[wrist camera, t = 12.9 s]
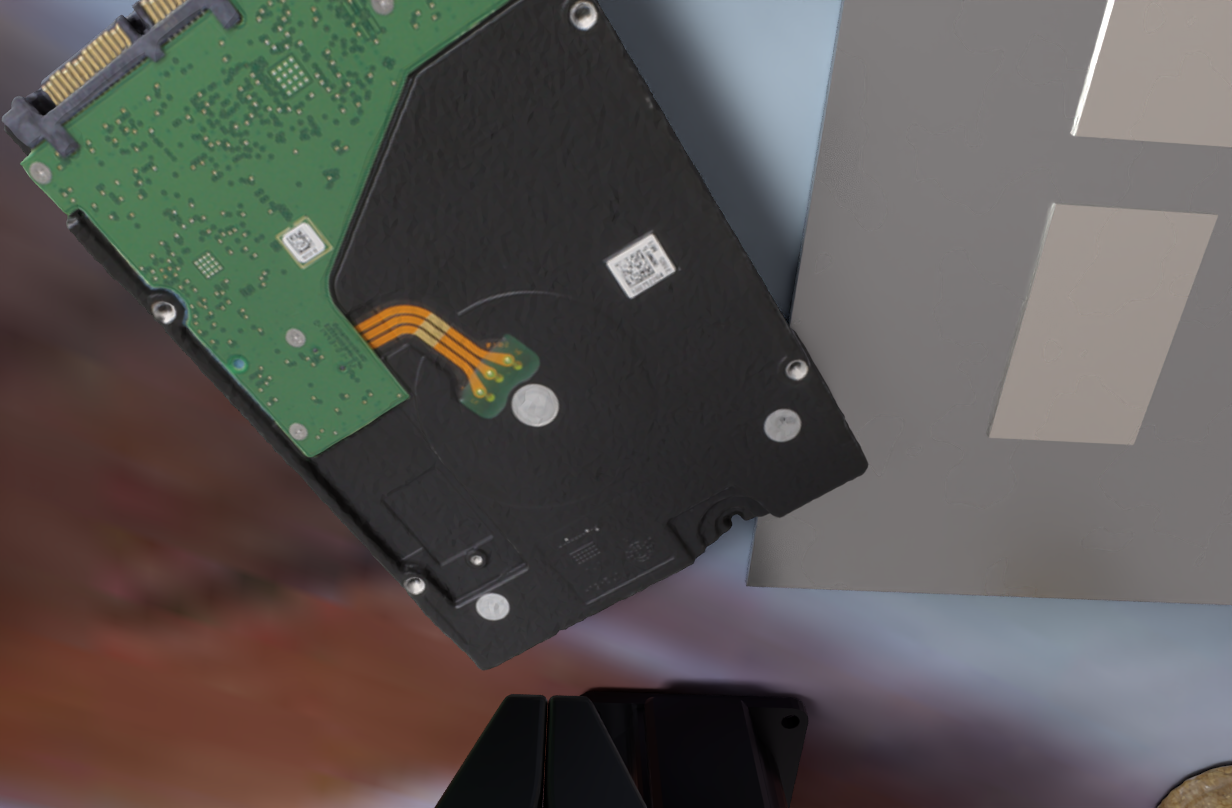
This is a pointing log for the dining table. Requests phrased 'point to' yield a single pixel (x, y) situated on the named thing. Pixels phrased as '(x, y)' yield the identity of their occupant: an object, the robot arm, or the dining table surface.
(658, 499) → the disk drive
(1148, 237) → the label plate
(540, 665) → the dining table surface
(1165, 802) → the sprinkles bottle
